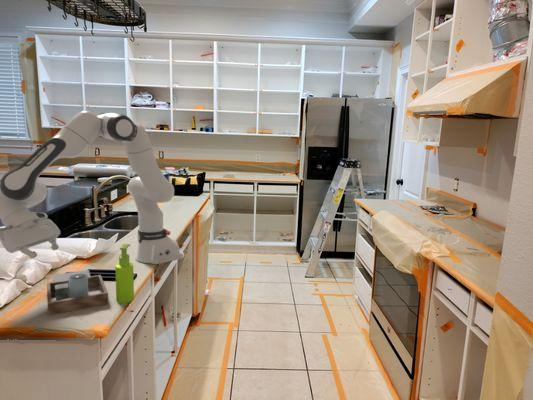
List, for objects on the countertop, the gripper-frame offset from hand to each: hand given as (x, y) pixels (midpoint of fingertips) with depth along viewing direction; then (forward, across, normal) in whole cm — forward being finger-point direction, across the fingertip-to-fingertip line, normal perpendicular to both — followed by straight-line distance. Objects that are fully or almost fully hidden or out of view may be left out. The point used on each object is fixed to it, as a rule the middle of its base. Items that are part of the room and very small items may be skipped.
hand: (45, 252), depth 127 cm
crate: (+19, +1, +3) cm, 20 cm away
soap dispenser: (+31, +6, -8) cm, 32 cm away
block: (+15, +1, +8) cm, 17 cm away
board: (+10, +14, +13) cm, 21 cm away
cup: (+20, 0, +2) cm, 21 cm away
